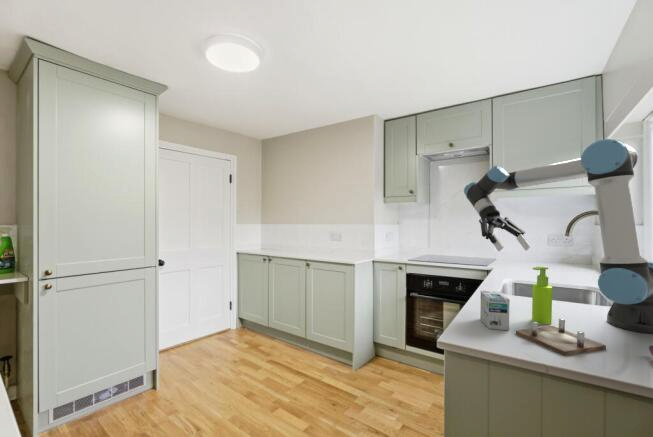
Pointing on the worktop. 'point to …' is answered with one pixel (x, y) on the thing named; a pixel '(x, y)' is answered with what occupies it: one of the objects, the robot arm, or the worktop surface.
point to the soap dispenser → (542, 298)
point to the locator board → (560, 339)
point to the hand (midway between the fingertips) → (514, 248)
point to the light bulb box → (494, 310)
